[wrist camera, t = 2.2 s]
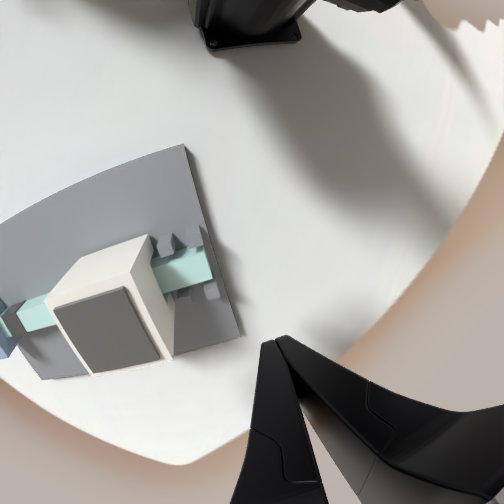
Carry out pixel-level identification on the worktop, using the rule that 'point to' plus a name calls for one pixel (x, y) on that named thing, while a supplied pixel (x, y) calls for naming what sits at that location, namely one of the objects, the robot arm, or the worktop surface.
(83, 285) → the sleeve
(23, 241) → the comb board
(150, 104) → the worktop surface
